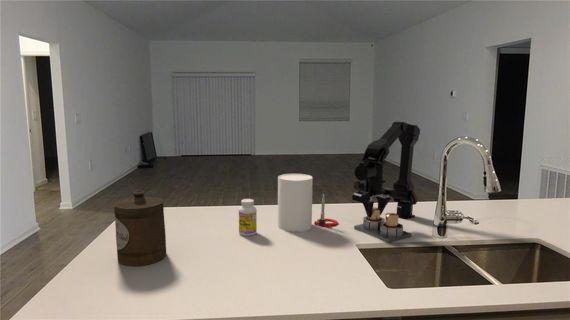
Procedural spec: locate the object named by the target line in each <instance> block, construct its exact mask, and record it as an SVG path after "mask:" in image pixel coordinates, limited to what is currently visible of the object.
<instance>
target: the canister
mask: <svg viewBox="0 0 570 320" xmlns="http://www.w3.org/2000/svg"><path fill="white" fill-rule="evenodd" d="M313 181H314V179H313V176H312V175H311V174H304V173H283V174H281V175H278V176H277V228H278V229H279V230H281V229H282V230H281V231H286V232H290V231H291V232H293V233H295V232H296V233H297V232H306V231H309V230H310V229H312V228H313V227H312V226H313V223H312V222H313V221H312V220H313Z"/></svg>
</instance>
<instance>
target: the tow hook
mask: <svg viewBox="0 0 570 320" xmlns="http://www.w3.org/2000/svg"><path fill="white" fill-rule="evenodd" d="M325 201H326V200H325V194H324V193H323V194H322V199H321V211H320V218H319V219H317V220H314V222H313V224H314V226H315V225H316V226H320V227H326V228H330V227H331V226H334V227H335V226H336V225H338V221H337V220H335V219H333V218H325V204H326V202H325Z"/></svg>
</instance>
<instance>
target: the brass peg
mask: <svg viewBox="0 0 570 320" xmlns="http://www.w3.org/2000/svg"><path fill="white" fill-rule="evenodd" d="M380 217H381V215H380V209H379V208H378V207H374V206H373V209H372V213H371V216H370V218H369V217H368V220H369V221H380Z"/></svg>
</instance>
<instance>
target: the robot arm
mask: <svg viewBox="0 0 570 320" xmlns="http://www.w3.org/2000/svg"><path fill="white" fill-rule="evenodd" d="M420 134H421V130H420V127H419V126H418V125H417V124H410V123H407V122H405V121H397V120H395V121H393V123H392V124H391V126H390V127H389V128H388V129H387V131H386V132H385V133H384V134H383V135H382V136H381V137H380V138H379V139H377V140H374V141H372V142H370V143H369V144H368V145H367V147H366V148H365V151H364V153H363V155H362V157H361V160H360V161H359V164H358V165H357V166H356V167H355V169H354V176H355V178H356V179H357V180H358V181H354V183H353V188H354V190H355V192H353V193H352V197H351V199H352V200H353V201H355V202H358V203H361V204H362V205H363V207H364V210H365V214H366V216H367V217H369V218H370V216H371V213H372V209H373V207H374V203H375V201H373V200H372V199H373V198H376V201H377V208H379V209H380V216H381V215H382V214H383V212H384V210H385V209H386V208H387V207H386V206H387V205H388V203H389V202H390V201H391V200H392V199H393V202H396V203H397V204H396V205H397V206H396V214H398V218H401V219H404V220H407V219H411V218H416V215H414V214H413V208H414V207H413V206H415V205H417V203H418V199H419V198H418V197H417V195H416V193H415V186H414V183H413V182H412V170H413V169H412V168H413V158H414V157H413V156H414V147H415V145H416V144H417V142H418V141H419V137H420ZM397 140H398V142H399V143H400V145H401V148H400V161H399V171H398V172H399V173H398V180H397V181H396V182H394V183H393V186H392V188H391V187H388V186H386V187H384V183H385V184H386V181H387V180H386V179H384V176H385V175H384V174H385V172H384V170H385V165H387V162H386V158H387V157H388V155H389V154H390V148H391V146H392V145H394V143H395V142H396V141H397Z"/></svg>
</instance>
